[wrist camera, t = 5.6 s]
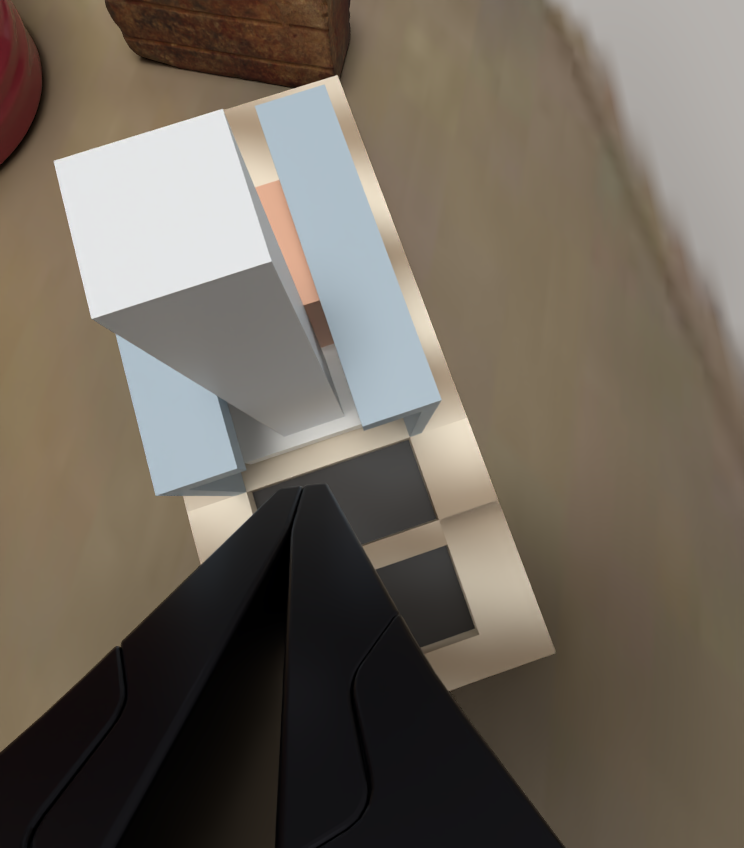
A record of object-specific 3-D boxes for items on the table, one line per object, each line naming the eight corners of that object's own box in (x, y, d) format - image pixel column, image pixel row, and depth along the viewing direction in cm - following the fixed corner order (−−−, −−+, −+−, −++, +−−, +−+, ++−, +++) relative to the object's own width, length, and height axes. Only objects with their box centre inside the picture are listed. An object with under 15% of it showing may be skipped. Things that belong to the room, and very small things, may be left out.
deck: (546, 644, 18) (556, 652, 17) (259, 746, 17) (251, 761, 16) (339, 93, 22) (337, 75, 21) (106, 166, 22) (93, 150, 21)
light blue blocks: (421, 433, 18) (441, 400, 12) (234, 496, 18) (155, 495, 12) (342, 213, 20) (324, 84, 14) (171, 268, 20) (73, 162, 13)
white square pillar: (390, 417, 18) (407, 254, 6) (250, 464, 18) (-31, 395, 6) (324, 228, 20) (228, -217, 7) (194, 270, 19) (-126, -117, 7)
